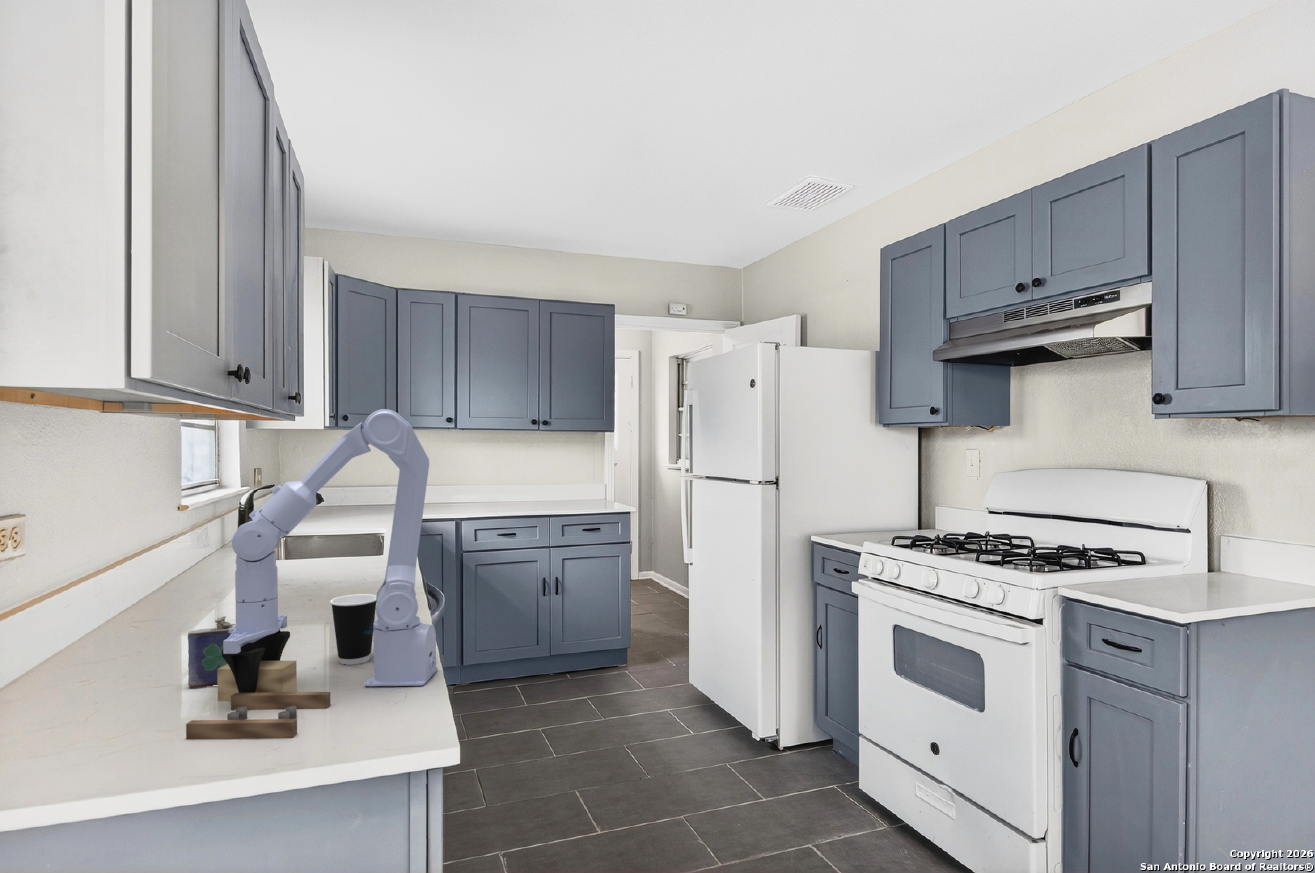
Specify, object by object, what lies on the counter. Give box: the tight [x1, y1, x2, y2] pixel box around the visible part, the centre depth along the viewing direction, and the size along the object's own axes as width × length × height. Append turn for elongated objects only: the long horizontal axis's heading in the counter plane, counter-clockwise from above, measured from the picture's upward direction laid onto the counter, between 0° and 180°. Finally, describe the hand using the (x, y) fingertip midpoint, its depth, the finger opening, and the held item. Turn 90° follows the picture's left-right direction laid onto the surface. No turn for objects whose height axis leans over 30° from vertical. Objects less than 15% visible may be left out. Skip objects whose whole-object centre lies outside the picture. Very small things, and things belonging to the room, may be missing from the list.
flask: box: [187, 615, 253, 689], centre depth 117 cm, size 9×3×11 cm, turn 109°
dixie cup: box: [329, 593, 377, 666], centre depth 128 cm, size 8×8×11 cm
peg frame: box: [185, 691, 331, 740], centre depth 101 cm, size 14×11×2 cm
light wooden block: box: [217, 660, 298, 702], centre depth 111 cm, size 10×4×5 cm, turn 89°
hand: (257, 686), depth 111 cm, fingers open, 5 cm apart
